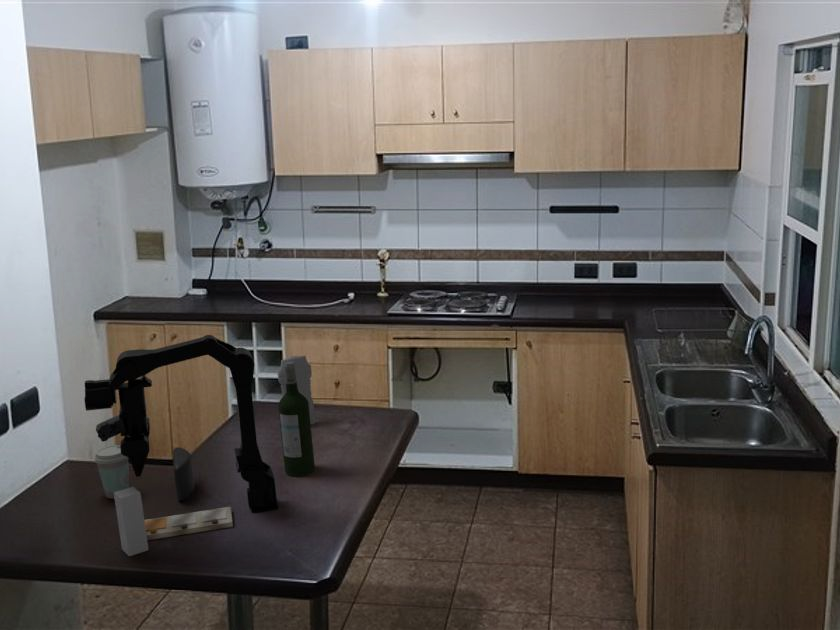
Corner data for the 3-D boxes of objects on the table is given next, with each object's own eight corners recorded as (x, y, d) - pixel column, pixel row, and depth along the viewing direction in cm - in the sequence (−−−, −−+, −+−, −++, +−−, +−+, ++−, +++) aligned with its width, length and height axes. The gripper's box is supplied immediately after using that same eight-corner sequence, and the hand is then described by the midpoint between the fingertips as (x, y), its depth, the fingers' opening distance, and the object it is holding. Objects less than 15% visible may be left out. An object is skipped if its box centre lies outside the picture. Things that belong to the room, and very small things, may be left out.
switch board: (231, 511, 238) (230, 504, 237) (232, 526, 229) (232, 519, 229) (137, 525, 233) (136, 518, 233) (136, 542, 224) (135, 534, 224)
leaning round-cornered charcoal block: (196, 500, 245) (191, 465, 243) (177, 503, 244) (172, 468, 242) (194, 476, 261) (189, 443, 258) (176, 479, 260) (172, 446, 257)
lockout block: (141, 543, 224) (133, 486, 220) (148, 550, 220) (140, 492, 217) (122, 549, 221) (113, 492, 218) (129, 556, 218) (120, 498, 214)
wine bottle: (317, 464, 263) (307, 357, 256) (311, 476, 255) (300, 366, 248) (288, 465, 264) (277, 359, 257) (282, 477, 256) (270, 367, 249)
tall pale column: (286, 432, 290) (278, 361, 284) (281, 428, 293) (273, 358, 288) (319, 424, 294) (312, 354, 289) (313, 420, 298) (307, 351, 293)
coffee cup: (124, 501, 248) (118, 457, 245) (94, 500, 249) (87, 456, 247) (140, 487, 256) (134, 444, 253) (110, 486, 258) (104, 444, 255)
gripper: (98, 397, 233) (104, 459, 236) (93, 422, 215) (100, 488, 219) (146, 392, 235) (152, 454, 239) (146, 416, 218) (152, 482, 221)
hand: (138, 469), depth 229 cm, fingers open, 9 cm apart
